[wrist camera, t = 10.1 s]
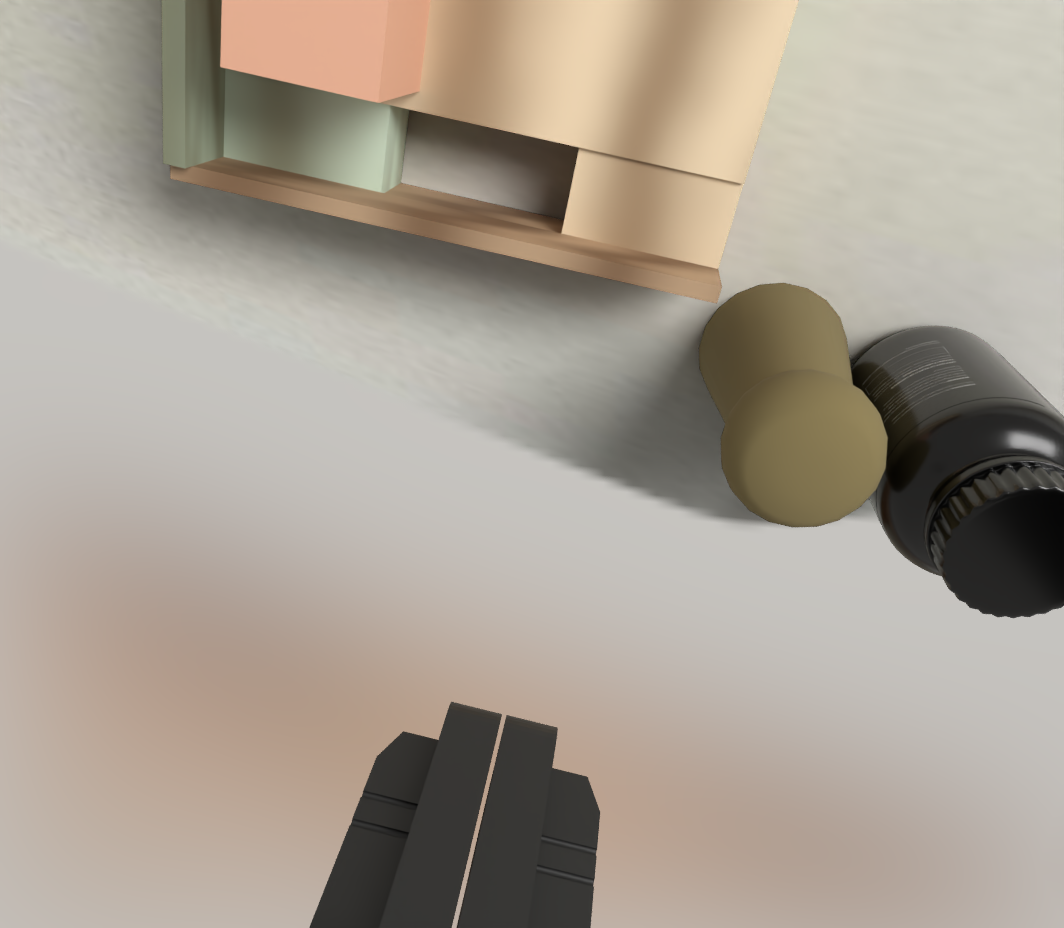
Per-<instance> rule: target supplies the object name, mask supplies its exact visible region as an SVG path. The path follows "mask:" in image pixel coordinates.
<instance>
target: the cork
mask: <svg viewBox="0 0 1064 928" xmlns="http://www.w3.org/2000/svg"><path fill="white" fill-rule="evenodd" d="M699 365H700V371H701V374H702V376H703V379H704V381H705V384H706V386H707V389H708V391H709V393H710V395H711V397H712V399H713V400H714V402H715V404H716V406H717V408H718V410H719V412H720V414H721V416H722V418H723V420H724V422H725V427H724V430H723V433H722V436H721V462H722V469H723V472H724V474H725V476H726V479H727V481H728V484H729V486H730V488H731V490H732V491H733V492H734V494H735V495H736V496H737V497H738V498H739V499H740V500H741V502H742V503H743V504H744V505H745V506H746V507H747V508H748V509H749V510H750V511H751V512H753V513H755V514H756V515H758V516H760V517H762V518H763V519H765V520H767V521H769V522H772V523H777V524H781V525H785V526H789V527H817V526H821V525H824V524H828V523H831V522H834V521H838V520H840V519H841V518H843V517H845V516H846V515H848V514H849V513H851V512H853V511H854V510H856V509H858V508H859V507H861V505H862V504H863V503H864V502H865V501H866V500H867V499H868V498H869V497H870V496H871V494H872V493H873V492H874V491H875V490H876V489H877V487H878V484H879V482H880V480H881V478H882V475H883V473H884V471H885V469H886V456H887V441H888V437H887V434H886V431H885V428H884V425H883V421H882V418H881V415H880V414H879V412H878V410H877V409H876V407H875V406H874V405H873V404H872V402H871V401H870V400H869V399H868V397H867V396H866V395H865V394H864V392H863V391H862V390H861V389H859V388H857V387H856V386H854V385H853V381H852V374H851V367H850V360H849V352H848V345H847V338H846V335H845V332H844V329H843V326H842V322H841V319H840V317H839V316H838V314H837V313H836V312H835V311H834V309H833V308H832V307H831V306H830V304H829V303H828V302H827V301H826V300H825V299H823V298H822V297H820V296H819V295H817V294H815V293H814V292H812V291H811V290H809V289H807V288H804V287H799V286H795V285H791V284H786V283H776V284H764V285H758V286H755V287H753V288H750V289H748V290H745V291H742V292H740V293H737V294H736V295H735V296H733V297H732V298H731V299H730V300H728V301H727V302H726V303H724V304H723V305H722V306H721V307H719V308H718V309H717V311H716V312H715V314H714V315H713V317H712V318H711V319H710V321H709V322H708V324H707V325H706V327H705V329H704V333H703V336H702V339H701V343H700V346H699Z"/></svg>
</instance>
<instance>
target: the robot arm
mask: <svg viewBox="0 0 1064 928" xmlns="http://www.w3.org/2000/svg"><path fill="white" fill-rule="evenodd" d="M501 716H502V714H499V713H495V712H490V711H487V710H483V709H478V708H474V707H470V706H466V705H462V704H458V703H454V702H451V704H450V706H449V709H448V712H447V715H446V718H445V721H444V724H443V728H442V731H441V734H440V737H439V740H436V739H432V738H428V737H424V736H420V735H416V734H412V733H407V732H402V733H401V734H400V735H399V736H398V737H397V738H396V739H395V740H394V741H393V742H392V743H391V744H390V745H389V746H388V747H387V748H385V750H384V751H382V752H381V754H379V755H378V756H377V758H376V760H375V763H374V765H373V768H372V770H371V773H370V775H369V778H368V781H367V783H366V786H365V788H364V791H363V795H362V797H361V798H360V801H359V803H358V806H357V808H356V811H355V813H354V816H353V819H352V823H351V825H350V826H349V829H348V831H347V834H346V836H345V839H344V841H343V844H342V846H341V849H340V851H339V854H338V856H337V859H336V862H335V864H334V867H333V869H332V872H331V874H330V877H329V880H328V882H327V884H326V887H325V889H324V893H323V895H322V897H321V900H320V902H319V905H318V907H317V910H316V912H315V915H314V918H313V920H312V923H311V925H310V928H452V923H453V919H454V915H455V911H456V906H457V902H458V898H459V894H460V890H461V885H462V881H463V877H464V873H465V869H466V864H467V860H468V856H469V852H470V848H471V843H472V839H473V835H474V831H475V826H476V822H477V818H478V814H479V810H480V805H481V801H482V797H483V793H484V788H485V784H486V780H487V775H488V771H489V767H490V763H491V758H492V754H493V750H494V746H495V741H496V737H497V733H498V729H499V725H500V720H501ZM557 730H558V729H557V727H553V726H548V725H544V724H540V723H536V722H532V721H528V720H524V719H520V718H516V717H512V716H508V715H507V716H506V720H505V724H504V728H503V733H502V737H501V741H500V745H499V749H498V753H497V757H496V762H495V766H494V770H493V774H492V779H491V783H490V787H489V791H488V795H487V799H486V804H485V808H484V812H483V816H482V821H481V825H480V829H479V833H478V838H477V842H476V846H475V851H474V855H473V859H472V864H471V868H470V872H469V877H468V881H467V886H466V890H465V894H464V898H463V903H462V907H461V911H460V915H459V920H458V925H457V928H590V926H591V913H592V901H593V890H594V887H593V883H594V878H595V867H596V866H595V865H596V850H597V842H598V831H599V819H600V811H599V808H598V805H597V802H596V799H595V797H594V794H593V791H592V788H591V785H590V783H589V780H588V777H586V776H582V775H578V774H574V773H570V772H566V771H562V770H558V769H554V768H552V764H553V758H554V751H555V745H556V739H557Z"/></svg>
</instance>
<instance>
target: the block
mask: <svg viewBox="0 0 1064 928" xmlns="http://www.w3.org/2000/svg"><path fill="white" fill-rule="evenodd" d="M430 1H431V0H222V15H221V61H220V67H222V68H227V69H231V70H235V71H240V72H244V73H249V74H253V75H257V76H262V77H266V78H271V79H275V80H279V81H284V82H288V83H293V84H297V85H301V86H306V87H310V88H315V89H319V90H323V91H328V92H332V93H337V94H341V95H345V96H350V97H354V98H359V99H363V100H367V101H372V102H376V103H380V102H383V101H387V100H391V99H394V98H398V97H401V96H405V95H408V94H412V93H415V92H419V91H420V83H421V75H422V66H423V58H424V50H425V42H426V34H427V26H428V18H429V9H430Z"/></svg>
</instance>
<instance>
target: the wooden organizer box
mask: <svg viewBox="0 0 1064 928" xmlns="http://www.w3.org/2000/svg"><path fill="white" fill-rule="evenodd" d="M798 1H799V0H431V1H430V9H429V18H428V26H427V34H426V42H425V50H424V58H423V66H422V75H421V83H420V91H419V92H415V93H412V94H408V95H405V96H401V97H398V98H394V99H391V100H387V101H383V102H380V103H376V102H372V101H367V100H363V99H359V98H354V97H350V96H345V95H341V94H337V93H332V92H328V91H323V90H319V89H315V88H310V87H306V86H301V85H297V84H293V83H288V82H284V81H279V80H275V79H271V78H266V77H262V76H257V75H253V74H249V73H244V72H240V71H235V70H231V69H227V68H222V67H220V61H221V15H222V0H161V8H162V106H163V164H167V165H170V179H174V180H178V181H183V182H187V183H192V184H196V185H200V186H205V187H209V188H214V189H218V190H222V191H227V192H231V193H235V194H240V195H244V196H249V197H253V198H257V199H262V200H266V201H270V202H275V203H279V204H284V205H288V206H292V207H297V208H301V209H305V210H310V211H314V212H319V213H323V214H327V215H332V216H336V217H341V218H345V219H349V220H354V221H358V222H362V223H367V224H371V225H376V226H380V227H384V228H389V229H393V230H397V231H402V232H406V233H411V234H415V235H419V236H424V237H428V238H432V239H437V240H441V241H446V242H450V243H454V244H459V245H463V246H468V247H472V248H476V249H481V250H485V251H489V252H494V253H498V254H503V255H507V256H511V257H516V258H520V259H524V260H529V261H533V262H538V263H542V264H546V265H551V266H555V267H559V268H564V269H568V270H573V271H577V272H581V273H586V274H590V275H595V276H599V277H603V278H608V279H612V280H616V281H621V282H625V283H630V284H634V285H638V286H643V287H647V288H651V289H656V290H660V291H665V292H669V293H673V294H678V295H682V296H686V297H691V298H695V299H700V300H704V301H708V302H713V303H717V302H718V298H719V295H720V292H721V288H722V285H721V280H720V276H719V271H718V268H719V264H720V261H721V258H722V254H723V251H724V248H725V244H726V241H727V237H728V234H729V231H730V227H731V224H732V221H733V217H734V214H735V211H736V207H737V204H738V200H739V197H740V194H741V190H742V187H743V184H744V183H745V179H746V176H747V173H748V169H749V166H750V163H751V159H752V156H753V153H754V149H755V146H756V142H757V139H758V136H759V132H760V129H761V126H762V122H763V119H764V116H765V112H766V109H767V106H768V102H769V99H770V95H771V92H772V89H773V85H774V82H775V79H776V75H777V72H778V69H779V65H780V62H781V59H782V55H783V52H784V48H785V45H786V42H787V38H788V35H789V32H790V28H791V25H792V22H793V18H794V15H795V12H796V8H797V5H798ZM409 110H414V111H418V112H423V113H427V114H432V115H436V116H441V117H445V118H450V119H454V120H459V121H463V122H468V123H472V124H477V125H481V126H486V127H490V128H495V129H499V130H503V131H508V132H512V133H517V134H521V135H526V136H530V137H535V138H539V139H544V140H548V141H553V142H557V143H562V144H566V145H571V146H575V147H579V151H578V156H577V161H576V165H575V170H574V175H573V180H572V185H571V190H570V195H569V199H568V204H567V209H566V214H565V219H564V220H562V219H557V218H553V217H548V216H544V215H540V214H535V213H531V212H526V211H522V210H518V209H513V208H509V207H504V206H500V205H495V204H491V203H487V202H482V201H478V200H473V199H469V198H465V197H460V196H456V195H451V194H447V193H442V192H438V191H434V190H429V189H425V188H420V187H416V186H412V185H407V184H403V183H401V177H402V168H403V160H404V151H405V143H406V134H407V125H408V117H409Z"/></svg>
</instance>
